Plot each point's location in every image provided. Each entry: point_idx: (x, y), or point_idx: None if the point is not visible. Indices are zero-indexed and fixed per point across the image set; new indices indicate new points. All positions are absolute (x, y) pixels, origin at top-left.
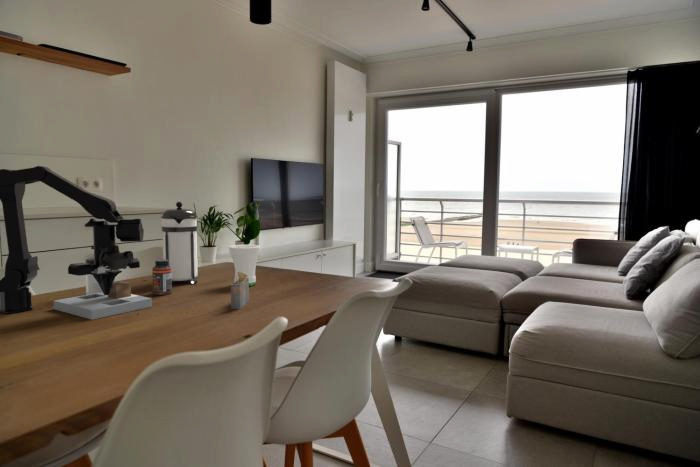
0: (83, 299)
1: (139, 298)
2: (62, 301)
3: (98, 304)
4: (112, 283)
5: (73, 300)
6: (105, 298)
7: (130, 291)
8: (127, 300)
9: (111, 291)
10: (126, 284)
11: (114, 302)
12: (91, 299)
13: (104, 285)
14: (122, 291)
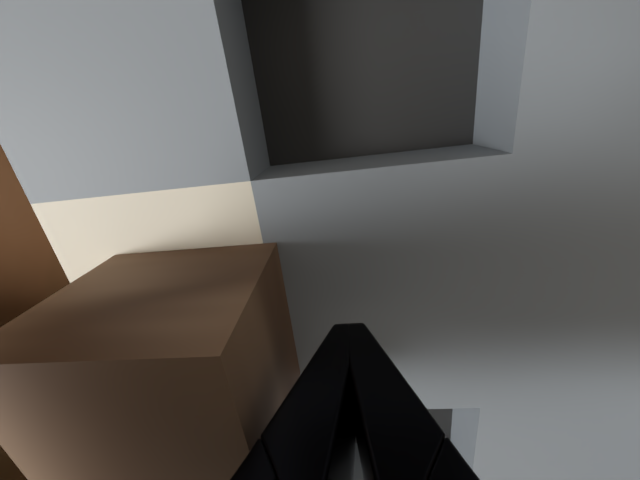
0: (489, 419)
1: (49, 49)
2: (631, 462)
3: (581, 104)
4: (256, 442)
5: (560, 439)
6: None
7: (77, 281)
8: (212, 44)
9: (278, 370)
10: (29, 352)
11: (333, 170)
12: (450, 379)
13: (430, 429)
14: (170, 283)
